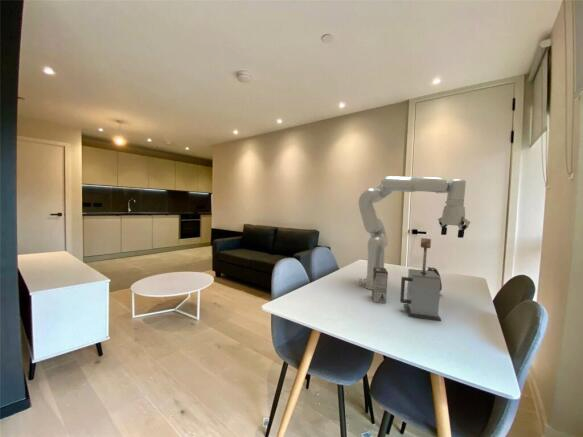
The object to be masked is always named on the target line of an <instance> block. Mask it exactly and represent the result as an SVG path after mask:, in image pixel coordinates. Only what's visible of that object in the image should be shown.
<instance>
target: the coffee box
mask: <svg viewBox="0 0 583 437" xmlns="http://www.w3.org/2000/svg"><path fill="white" fill-rule="evenodd" d="M388 276H389V274H388V271H387V268H385V267H384V268H375V267H374V268H373V287H372V290H371V292H372V293H371V297H372V301H373V303H381V304H386V303H387V290H388V279H389V277H388Z"/></svg>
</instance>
